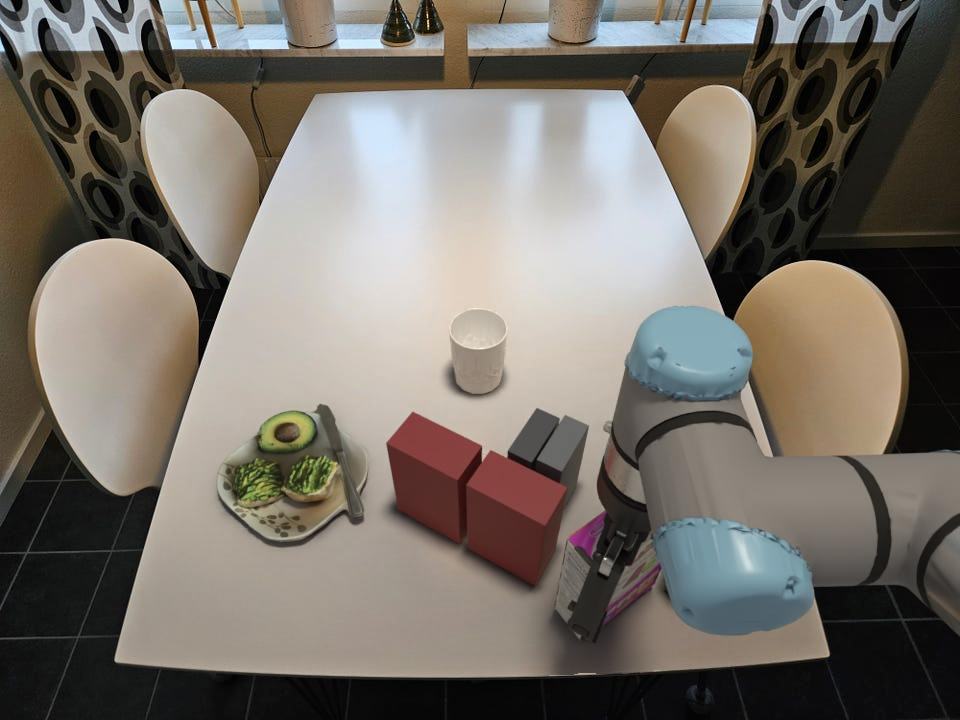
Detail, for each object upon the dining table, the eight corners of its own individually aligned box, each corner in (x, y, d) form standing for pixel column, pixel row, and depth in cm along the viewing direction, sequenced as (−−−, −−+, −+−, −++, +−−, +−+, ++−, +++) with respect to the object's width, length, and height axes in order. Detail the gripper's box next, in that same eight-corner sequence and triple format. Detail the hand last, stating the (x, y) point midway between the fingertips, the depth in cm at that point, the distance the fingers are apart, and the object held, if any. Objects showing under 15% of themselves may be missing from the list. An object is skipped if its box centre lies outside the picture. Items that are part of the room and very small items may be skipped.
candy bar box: (623, 550, 75) (652, 473, 62) (655, 584, 72) (691, 510, 60) (549, 607, 70) (564, 535, 58) (580, 645, 67) (603, 579, 55)
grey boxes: (689, 603, 71) (722, 549, 62) (504, 506, 79) (507, 445, 70) (708, 552, 75) (742, 494, 66) (530, 464, 83) (537, 401, 74)
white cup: (514, 368, 95) (517, 319, 87) (489, 405, 90) (491, 357, 83) (467, 350, 97) (466, 300, 90) (441, 385, 92) (437, 336, 85)
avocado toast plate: (411, 478, 82) (408, 458, 79) (298, 581, 73) (290, 563, 69) (313, 400, 90) (307, 379, 87) (201, 483, 81) (189, 463, 78)
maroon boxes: (535, 586, 73) (545, 526, 62) (397, 509, 79) (385, 443, 69) (555, 550, 75) (567, 487, 65) (420, 479, 82) (412, 411, 72)
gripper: (656, 356, 60) (619, 480, 76) (539, 568, 46) (523, 665, 62) (736, 388, 58) (680, 509, 74) (638, 622, 44) (595, 709, 60)
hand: (608, 581), depth 68 cm, fingers closed on candy bar box, 12 cm apart
